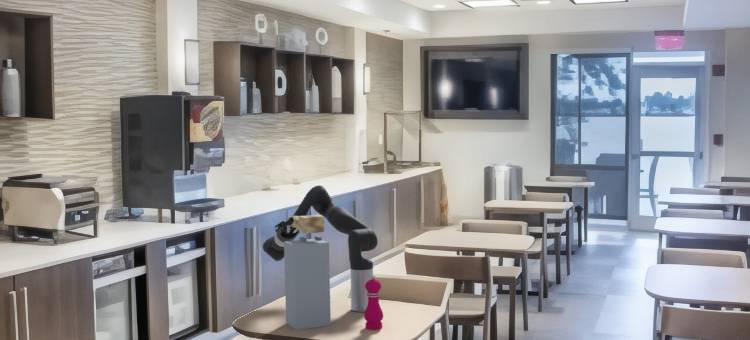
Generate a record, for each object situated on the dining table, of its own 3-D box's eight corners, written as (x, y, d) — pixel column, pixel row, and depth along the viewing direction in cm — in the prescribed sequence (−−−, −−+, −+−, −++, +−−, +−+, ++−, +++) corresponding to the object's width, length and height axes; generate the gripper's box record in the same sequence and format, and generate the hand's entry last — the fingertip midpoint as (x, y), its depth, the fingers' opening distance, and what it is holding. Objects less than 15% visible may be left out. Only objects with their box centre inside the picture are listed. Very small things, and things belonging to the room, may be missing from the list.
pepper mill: (381, 330, 304) (380, 277, 302) (362, 329, 305) (361, 276, 304) (385, 325, 311) (384, 273, 310) (366, 324, 312) (365, 273, 311)
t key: (301, 224, 334) (301, 209, 333) (324, 231, 312) (323, 216, 312) (283, 225, 330) (282, 210, 330) (304, 233, 309) (304, 217, 308)
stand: (319, 318, 322) (317, 235, 320) (330, 325, 312) (328, 239, 310) (286, 323, 316) (283, 238, 314) (296, 330, 306) (294, 242, 304)
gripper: (303, 241, 342) (315, 225, 328) (270, 244, 336) (282, 228, 322) (299, 225, 345) (312, 208, 331) (267, 228, 339) (278, 211, 324)
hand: (297, 218), depth 326 cm, fingers closed on t key, 3 cm apart
